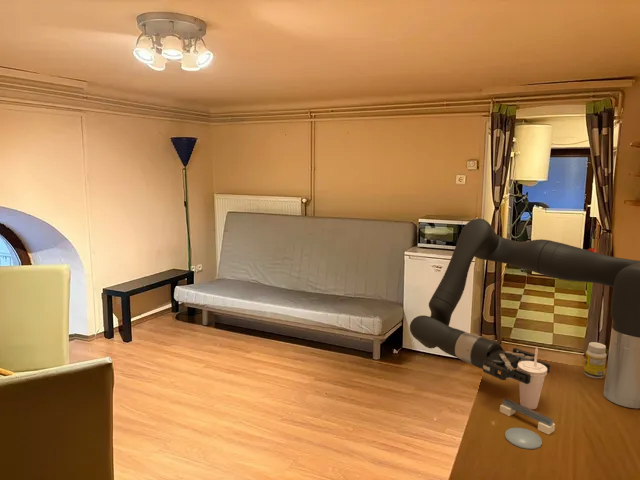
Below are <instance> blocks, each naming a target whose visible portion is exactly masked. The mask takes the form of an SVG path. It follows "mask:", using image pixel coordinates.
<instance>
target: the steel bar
mask: <svg viewBox="0 0 640 480" xmlns="http://www.w3.org/2000/svg"><path fill="white" fill-rule="evenodd" d="M502 404H503V405H504V406H506V407H508V408H511V409H513V410H515V412H517V413H520V414H523V415H524V416H527V417H529V418H530V419H532V420H535V421H536V422H538V423H539V422H541V423H544V424H546V425H548V426H551V425H553V423H554V418H552V417H549V416H547V415H544V414H543V413H540V412H538V411H535V410H534V409H529V408H527V407H524V406H522V405H520V403H517V402H516V401H512V400H511V399H510V398H509V399H508V398H504V399H502Z"/></svg>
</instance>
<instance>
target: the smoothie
mask: <svg viewBox="0 0 640 480" xmlns="http://www.w3.org/2000/svg"><path fill="white" fill-rule="evenodd" d="M534 351H535V352H534V354H535V358H534V361H519V363H518V367H517V368H516V369H517V370H520V371H523V372H525V373H528V374H530V375H531V380H530V383H529V384H525V383H523V382H520V381H518V382H519V383H518V385H519V404H520V405H522V406H524V407H527V408H529V409H531V410H535V409H536V410H537V409H538V406H539V402H540V397H541V393H542V389H543V386H544V382H545V379H546V378H545V377H546V376H547V375H548V374H547V367H546V366H544V365H543V364H541V363H538V362H537V360H538V356H539V355H538V354H539V349H538V348H537V347H536V348H535V349H534Z"/></svg>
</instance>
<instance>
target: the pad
mask: <svg viewBox="0 0 640 480" xmlns="http://www.w3.org/2000/svg"><path fill="white" fill-rule="evenodd" d="M504 436H505V439H506V440H507V441H508V443H510V444H512V445H513V446H515V447H518V448H520V449H524V450H535V449H536V450H537V449H539V448H540V447H542V443H543V439H542V437H541V436H540V434H538V433H536V432H534V431H532V430H530V429H527V428H523V427H511V428H508V429H507V430H506V431H505V433H504Z"/></svg>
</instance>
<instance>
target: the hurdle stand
mask: <svg viewBox="0 0 640 480" xmlns="http://www.w3.org/2000/svg"><path fill="white" fill-rule="evenodd" d="M499 413H501V414H503V415H506V416H508V417H510V416H512V415H514V414H515V413H516V411H515V410H513V409H511V408H508V407H506V406H504V405H503V403H502V404H500V406H499ZM537 424H538V425H537V430H538V431H539V432H542V433H544V434H546V435H551V434H552V433H554V432H555V430H556V429H555V428H556V424H555V423H554V422H553V425H551V426H548V425H546V424H544V423H541V422H539V421H538V423H537Z"/></svg>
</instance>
